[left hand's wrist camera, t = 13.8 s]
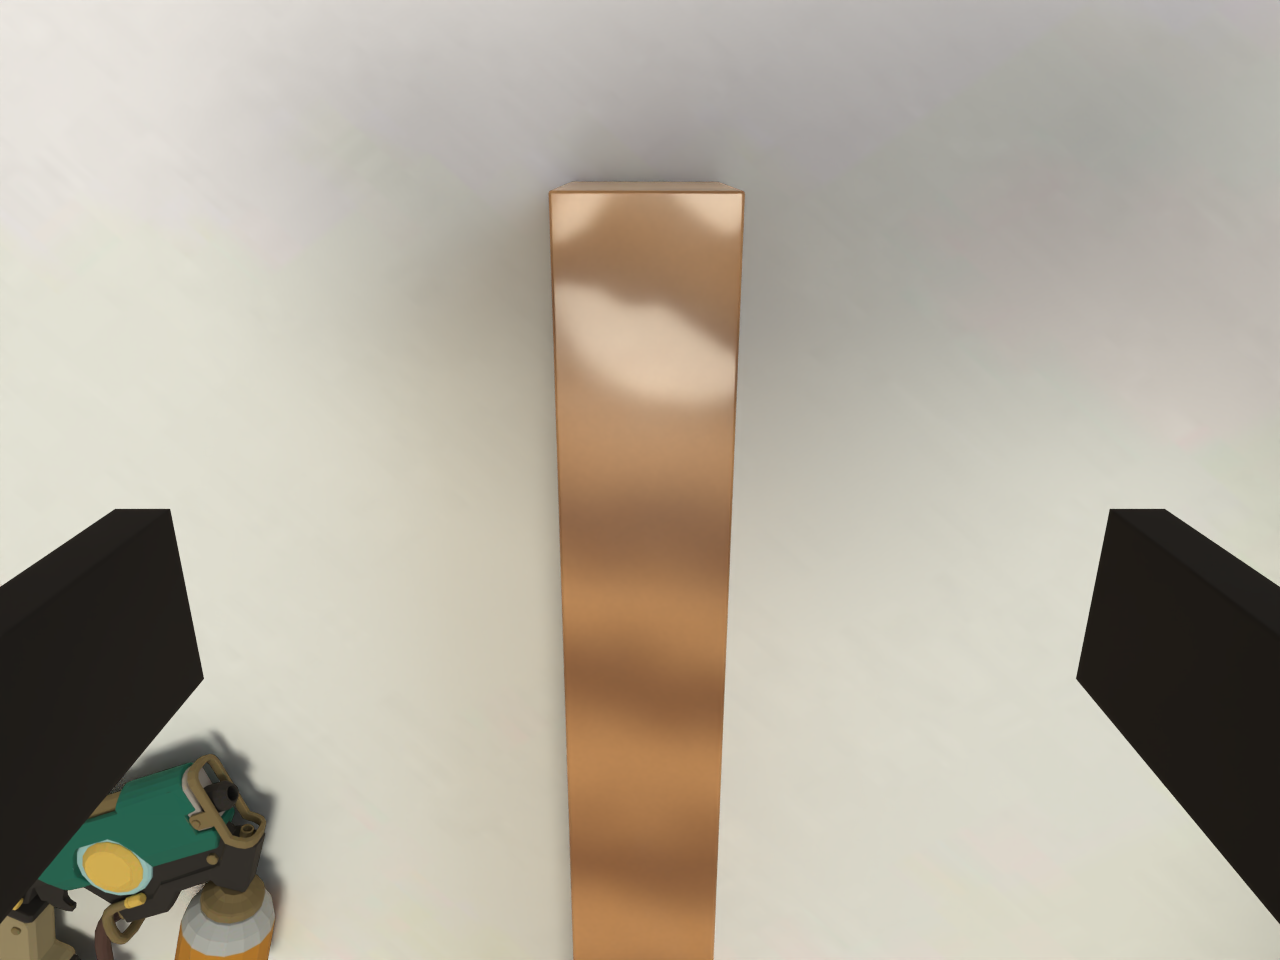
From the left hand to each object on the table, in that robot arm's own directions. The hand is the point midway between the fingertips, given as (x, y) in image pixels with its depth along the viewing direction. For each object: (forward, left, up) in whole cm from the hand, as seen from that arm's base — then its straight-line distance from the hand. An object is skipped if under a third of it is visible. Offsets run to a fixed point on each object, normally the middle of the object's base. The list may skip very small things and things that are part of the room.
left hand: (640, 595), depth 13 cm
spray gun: (+22, +30, -24) cm, 44 cm away
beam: (-4, +32, -24) cm, 40 cm away
